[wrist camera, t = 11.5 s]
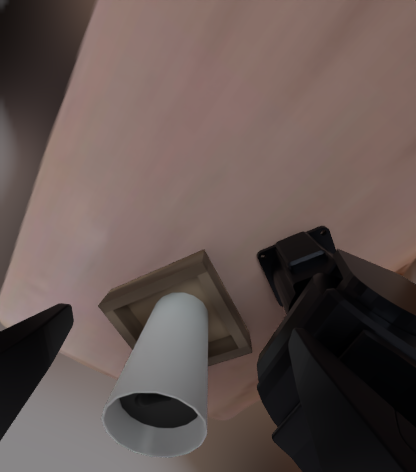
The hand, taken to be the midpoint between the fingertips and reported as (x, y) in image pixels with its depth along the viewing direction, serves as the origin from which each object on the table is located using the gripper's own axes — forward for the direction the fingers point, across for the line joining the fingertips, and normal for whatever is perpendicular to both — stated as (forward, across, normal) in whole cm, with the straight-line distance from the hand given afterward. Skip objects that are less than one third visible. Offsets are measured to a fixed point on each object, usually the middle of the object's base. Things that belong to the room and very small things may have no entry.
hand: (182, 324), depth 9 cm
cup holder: (+12, +1, +10) cm, 16 cm away
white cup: (+12, +1, +10) cm, 15 cm away
